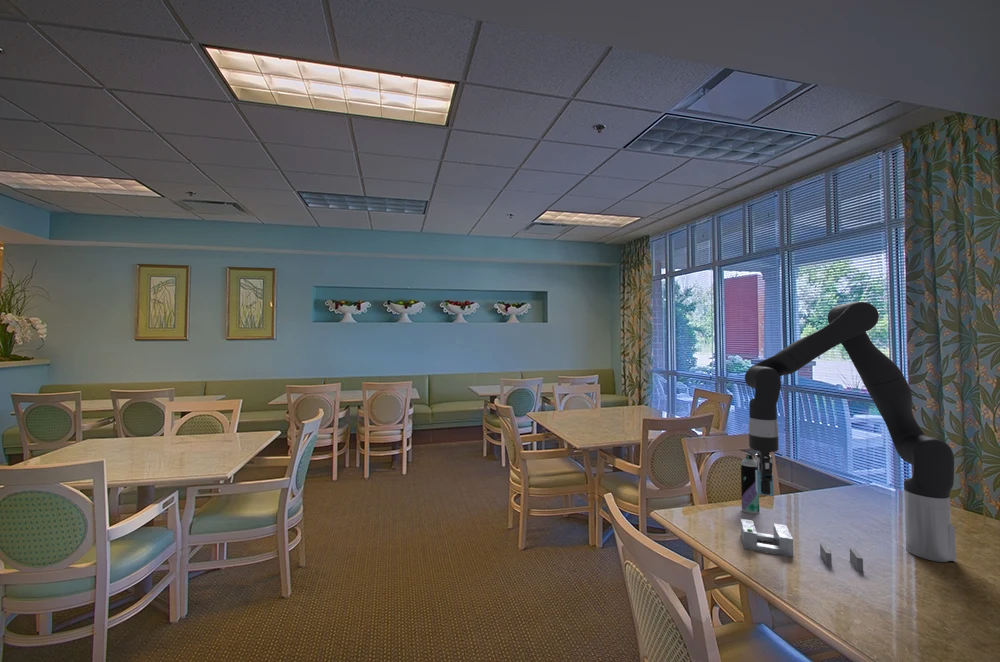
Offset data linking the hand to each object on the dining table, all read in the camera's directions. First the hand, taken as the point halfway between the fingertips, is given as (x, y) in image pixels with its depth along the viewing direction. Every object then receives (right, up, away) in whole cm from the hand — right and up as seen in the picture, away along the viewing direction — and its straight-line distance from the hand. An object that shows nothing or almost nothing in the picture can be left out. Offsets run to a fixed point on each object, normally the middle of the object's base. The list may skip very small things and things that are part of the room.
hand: (764, 491), depth 127 cm
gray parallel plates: (+14, -16, -11) cm, 24 cm away
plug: (0, 0, 0) cm, 0 cm away
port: (0, -16, 0) cm, 16 cm away
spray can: (+11, -17, +25) cm, 32 cm away
